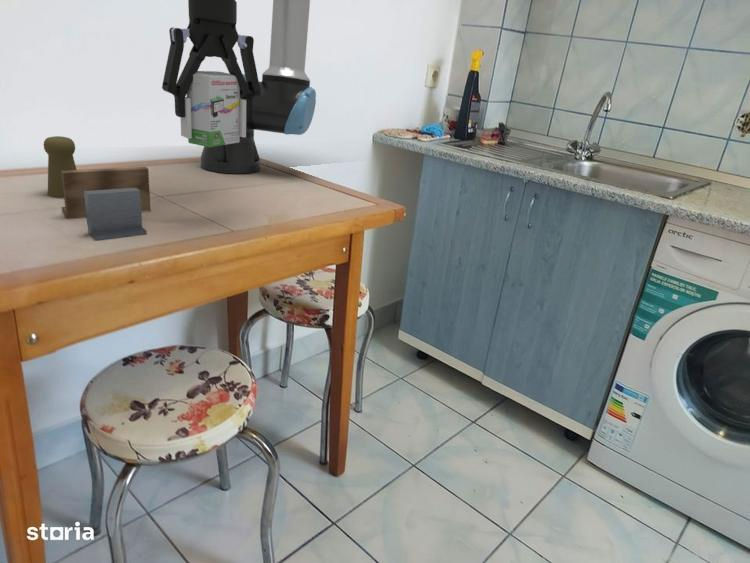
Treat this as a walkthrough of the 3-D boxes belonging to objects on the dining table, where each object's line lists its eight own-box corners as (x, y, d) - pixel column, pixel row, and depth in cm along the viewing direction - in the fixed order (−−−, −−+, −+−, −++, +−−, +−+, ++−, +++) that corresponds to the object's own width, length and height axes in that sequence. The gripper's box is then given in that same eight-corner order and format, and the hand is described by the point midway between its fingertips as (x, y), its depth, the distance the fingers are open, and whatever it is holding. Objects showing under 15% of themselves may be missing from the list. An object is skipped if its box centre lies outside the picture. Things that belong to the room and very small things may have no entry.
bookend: (138, 227, 93) (135, 187, 91) (146, 234, 91) (144, 193, 88) (88, 232, 89) (83, 191, 86) (95, 240, 86) (90, 197, 83)
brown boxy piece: (142, 204, 105) (140, 163, 102) (150, 210, 102) (148, 168, 99) (62, 211, 97) (56, 166, 93) (68, 218, 94) (62, 172, 90)
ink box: (209, 148, 92) (208, 74, 87) (186, 143, 93) (184, 70, 88) (241, 142, 99) (241, 74, 94) (219, 138, 100) (218, 71, 96)
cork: (74, 188, 110) (68, 133, 106) (88, 195, 107) (82, 139, 102) (42, 192, 106) (34, 134, 101) (55, 199, 102) (48, 140, 98)
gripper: (262, 3, 96) (259, 131, 105) (133, -17, 82) (142, 133, 91) (284, 4, 91) (279, 139, 100) (151, -17, 77) (159, 141, 86)
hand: (214, 136), depth 96 cm, fingers closed on ink box, 9 cm apart
